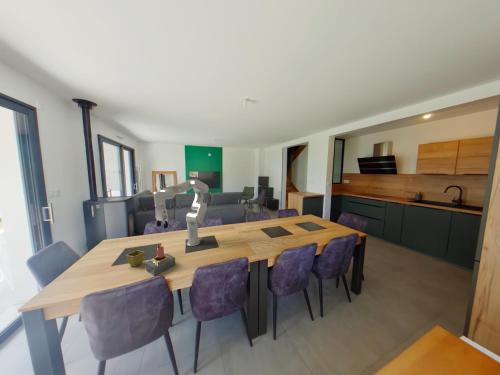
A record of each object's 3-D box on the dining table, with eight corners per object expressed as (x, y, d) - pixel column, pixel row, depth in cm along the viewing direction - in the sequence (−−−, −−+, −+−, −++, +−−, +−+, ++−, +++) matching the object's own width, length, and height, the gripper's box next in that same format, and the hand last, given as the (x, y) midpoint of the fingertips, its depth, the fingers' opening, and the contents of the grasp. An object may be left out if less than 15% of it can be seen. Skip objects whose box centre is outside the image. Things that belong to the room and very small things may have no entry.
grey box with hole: (166, 260, 136) (166, 251, 135) (175, 264, 129) (174, 255, 128) (145, 270, 122) (144, 260, 122) (154, 275, 116) (153, 265, 115)
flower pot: (138, 260, 136) (137, 249, 135) (145, 262, 133) (144, 251, 132) (126, 266, 128) (125, 255, 127) (134, 268, 125) (133, 257, 124)
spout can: (163, 262, 129) (161, 242, 128) (166, 263, 127) (164, 244, 125) (156, 264, 126) (155, 245, 124) (160, 266, 123) (158, 246, 122)
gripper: (171, 206, 133) (173, 227, 135) (158, 204, 142) (160, 224, 144) (162, 208, 127) (164, 230, 129) (149, 206, 136) (152, 226, 138)
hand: (162, 227), depth 137 cm, fingers open, 9 cm apart
